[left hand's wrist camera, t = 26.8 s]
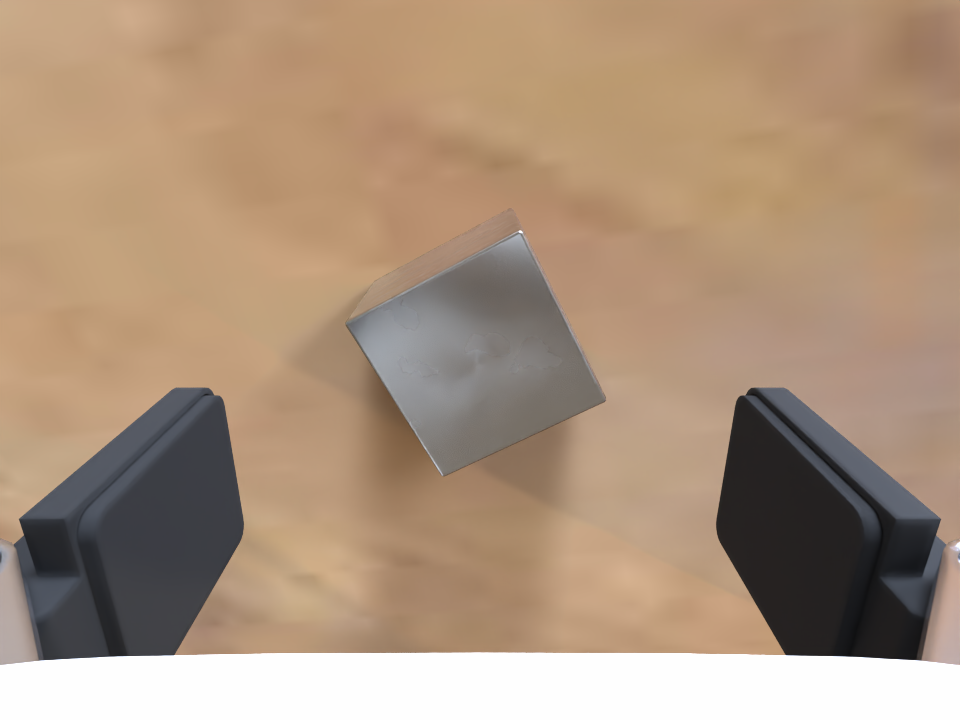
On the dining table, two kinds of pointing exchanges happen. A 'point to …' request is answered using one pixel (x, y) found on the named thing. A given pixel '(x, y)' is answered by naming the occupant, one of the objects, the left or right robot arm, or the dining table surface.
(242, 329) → the dining table surface
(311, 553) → the dining table surface
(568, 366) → the block
